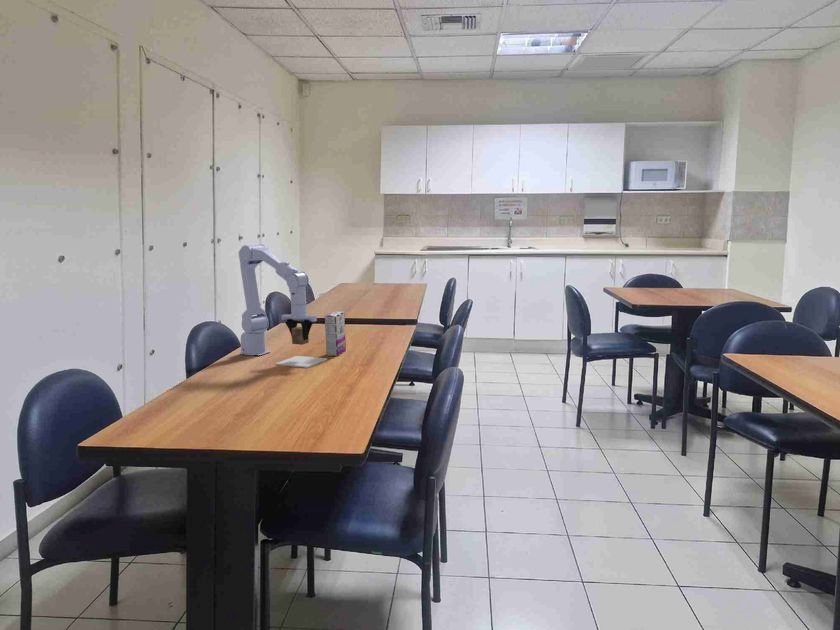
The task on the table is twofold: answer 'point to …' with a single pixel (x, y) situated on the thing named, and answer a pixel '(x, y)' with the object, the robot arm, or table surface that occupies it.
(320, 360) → the pad
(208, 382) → the table surface
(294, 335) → the walnut block
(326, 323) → the candy bar box
